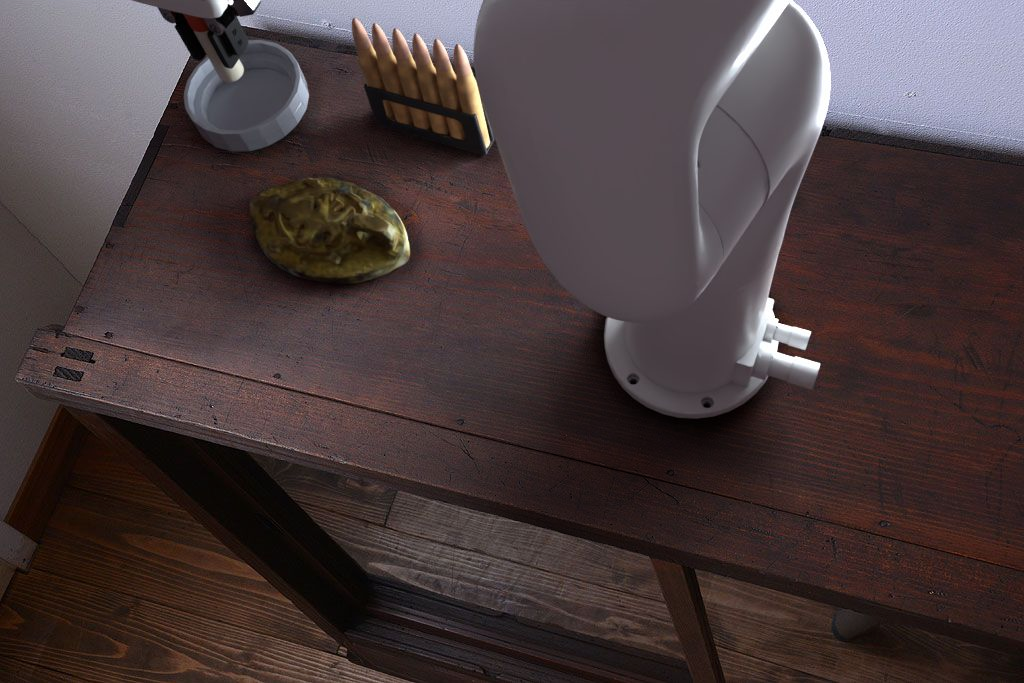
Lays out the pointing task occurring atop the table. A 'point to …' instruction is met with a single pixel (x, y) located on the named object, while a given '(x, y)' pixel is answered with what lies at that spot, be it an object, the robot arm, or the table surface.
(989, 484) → the table surface
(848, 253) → the table surface
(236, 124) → the dish
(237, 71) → the red-capped cylinder
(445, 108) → the ammunition clip
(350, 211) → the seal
